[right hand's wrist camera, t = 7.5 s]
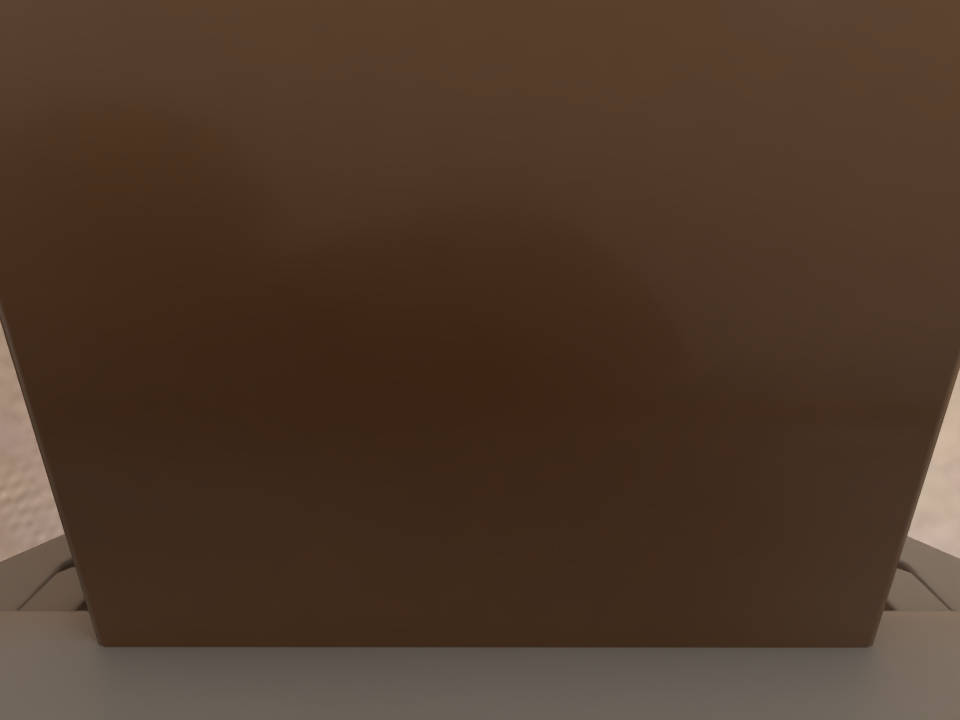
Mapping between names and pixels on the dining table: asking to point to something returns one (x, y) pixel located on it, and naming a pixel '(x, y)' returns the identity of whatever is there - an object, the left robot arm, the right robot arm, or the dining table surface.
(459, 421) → the box
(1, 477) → the dining table surface
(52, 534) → the dining table surface
